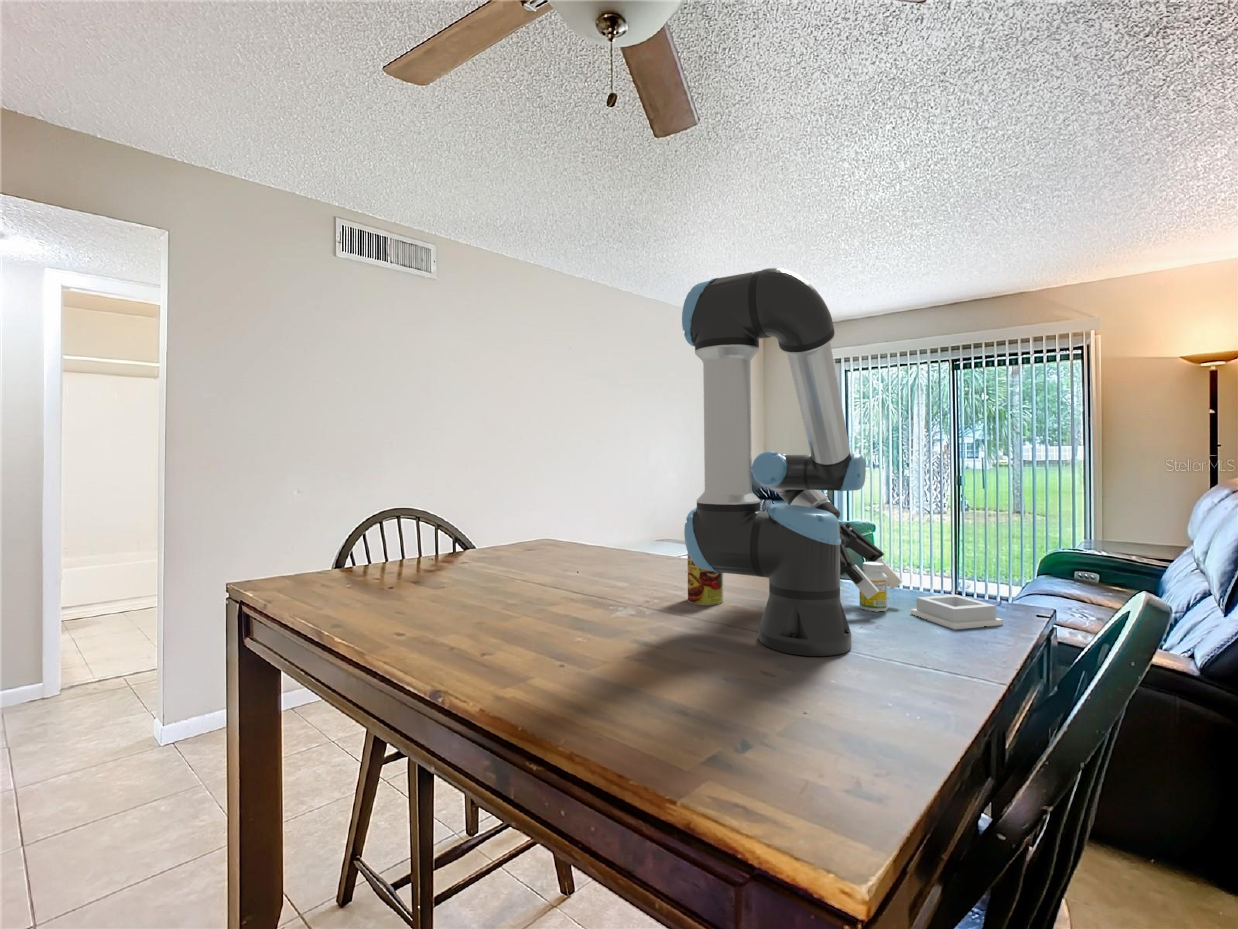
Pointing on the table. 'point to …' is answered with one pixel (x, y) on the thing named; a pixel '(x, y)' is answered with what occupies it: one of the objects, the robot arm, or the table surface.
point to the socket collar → (956, 612)
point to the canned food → (704, 585)
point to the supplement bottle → (880, 581)
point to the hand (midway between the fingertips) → (886, 590)
